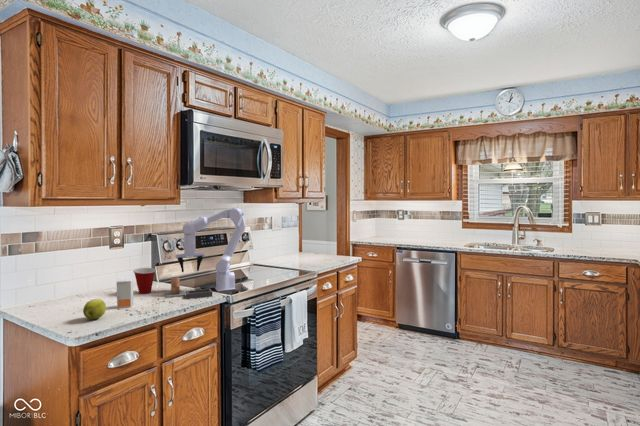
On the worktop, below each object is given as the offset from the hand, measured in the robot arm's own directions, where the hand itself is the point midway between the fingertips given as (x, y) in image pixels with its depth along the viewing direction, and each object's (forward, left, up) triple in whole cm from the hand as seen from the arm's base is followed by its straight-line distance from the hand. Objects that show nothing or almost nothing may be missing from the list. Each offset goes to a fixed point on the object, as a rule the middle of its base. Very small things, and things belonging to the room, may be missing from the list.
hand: (190, 271), depth 217 cm
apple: (+42, +36, -10) cm, 56 cm away
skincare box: (+31, +21, -10) cm, 39 cm away
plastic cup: (+22, -4, -10) cm, 25 cm away
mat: (+8, +8, -10) cm, 15 cm away
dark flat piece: (-2, +16, -10) cm, 19 cm away
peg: (+8, +8, -9) cm, 15 cm away
